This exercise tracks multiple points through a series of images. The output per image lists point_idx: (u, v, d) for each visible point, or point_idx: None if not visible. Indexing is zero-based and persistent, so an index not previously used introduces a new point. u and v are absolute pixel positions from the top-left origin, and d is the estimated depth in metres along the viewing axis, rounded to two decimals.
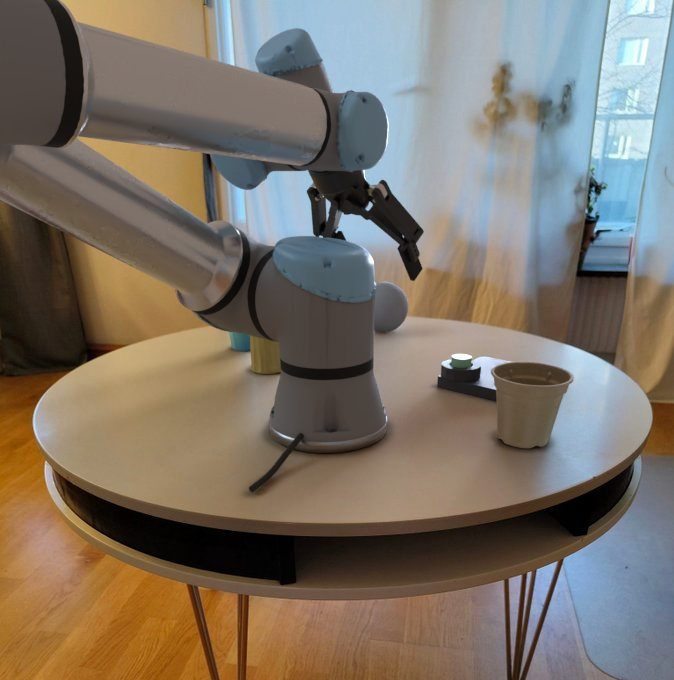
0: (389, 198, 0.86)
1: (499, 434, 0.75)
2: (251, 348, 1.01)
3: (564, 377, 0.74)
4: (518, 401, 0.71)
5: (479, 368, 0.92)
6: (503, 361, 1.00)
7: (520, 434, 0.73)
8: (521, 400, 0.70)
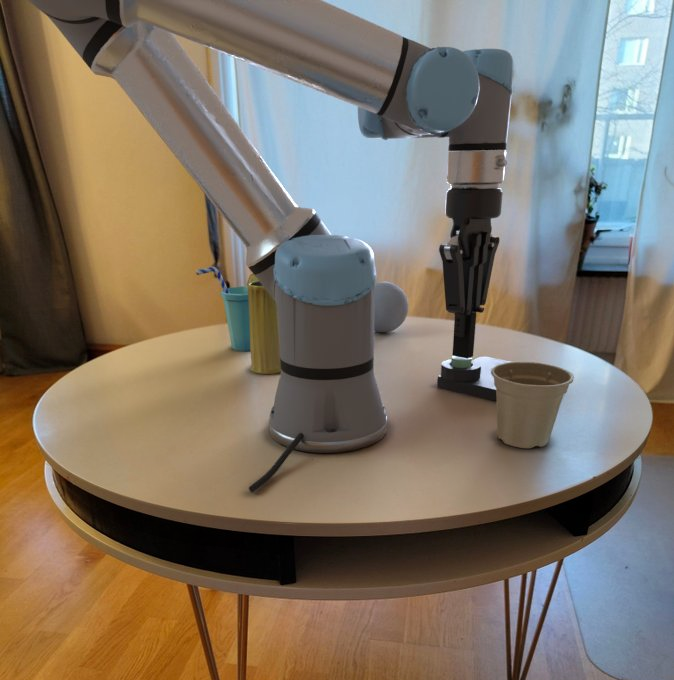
0: (452, 263, 0.83)
1: (499, 434, 0.75)
2: (251, 348, 1.01)
3: (564, 377, 0.74)
4: (518, 401, 0.71)
5: (479, 368, 0.92)
6: (503, 361, 1.00)
7: (520, 434, 0.73)
8: (521, 400, 0.70)
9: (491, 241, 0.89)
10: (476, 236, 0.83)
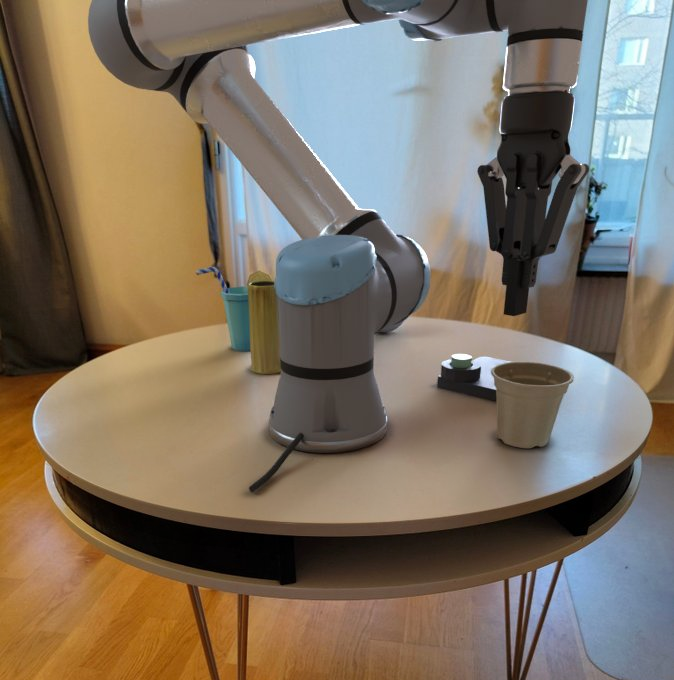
0: (572, 189, 0.66)
1: (499, 434, 0.75)
2: (251, 348, 1.01)
3: (564, 377, 0.74)
4: (518, 401, 0.71)
5: (479, 368, 0.92)
6: (503, 361, 1.00)
7: (520, 434, 0.73)
8: (521, 399, 0.70)
9: None
10: None
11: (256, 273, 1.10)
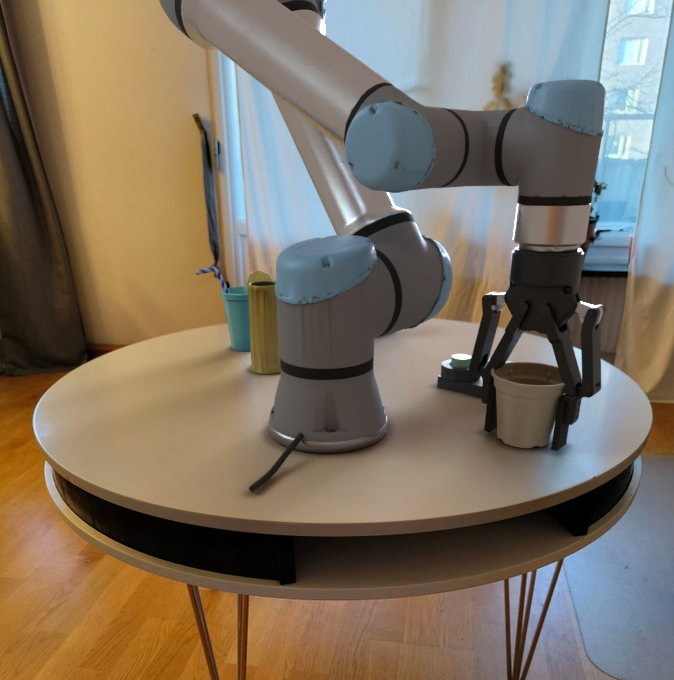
0: (597, 329, 0.66)
1: (499, 434, 0.75)
2: (251, 348, 1.01)
3: None
4: (518, 401, 0.71)
5: None
6: None
7: (520, 434, 0.73)
8: (521, 399, 0.70)
9: None
10: None
11: (256, 273, 1.10)
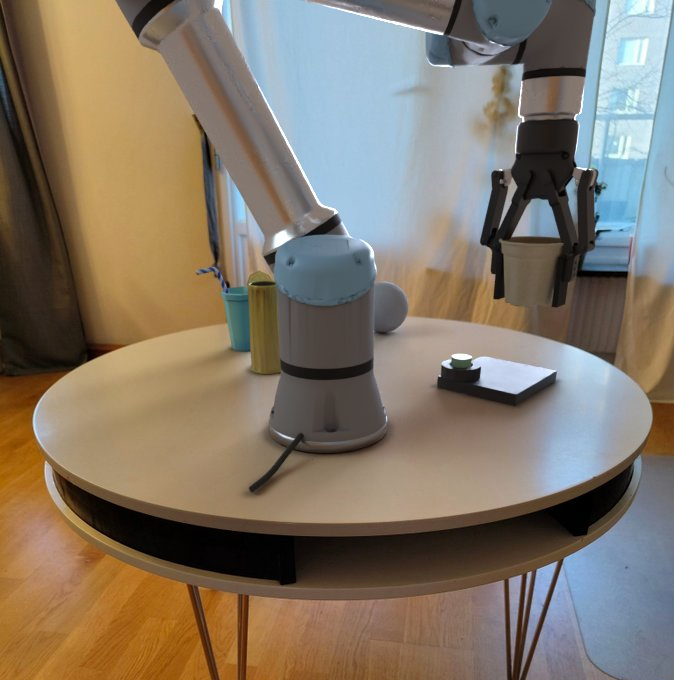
0: (591, 191, 0.77)
1: (506, 297, 0.86)
2: (251, 348, 1.01)
3: None
4: (522, 261, 0.81)
5: (479, 368, 0.92)
6: (503, 361, 1.00)
7: (525, 293, 0.83)
8: (525, 259, 0.81)
9: None
10: None
11: (256, 273, 1.10)
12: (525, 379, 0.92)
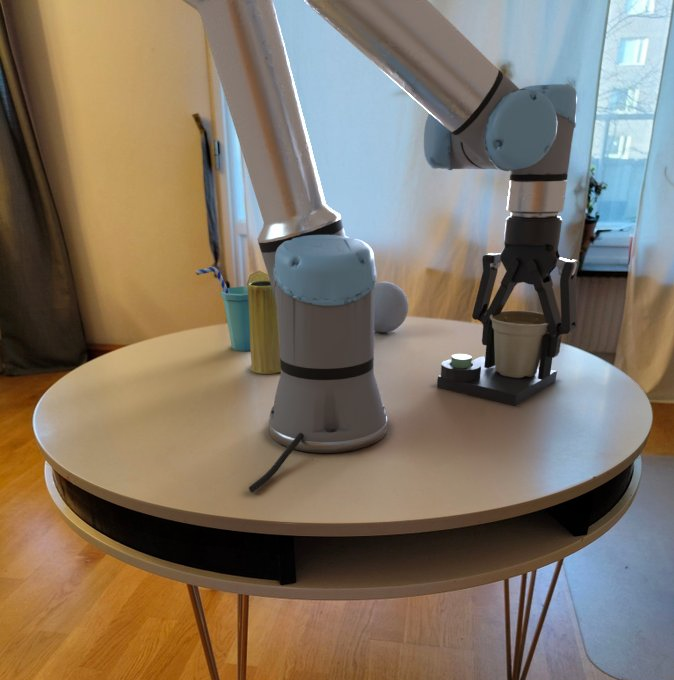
0: (572, 279, 0.85)
1: (496, 368, 0.94)
2: (251, 348, 1.01)
3: None
4: (511, 338, 0.89)
5: (479, 368, 0.92)
6: None
7: (513, 365, 0.91)
8: (513, 337, 0.89)
9: None
10: None
11: (256, 273, 1.10)
12: (525, 379, 0.92)
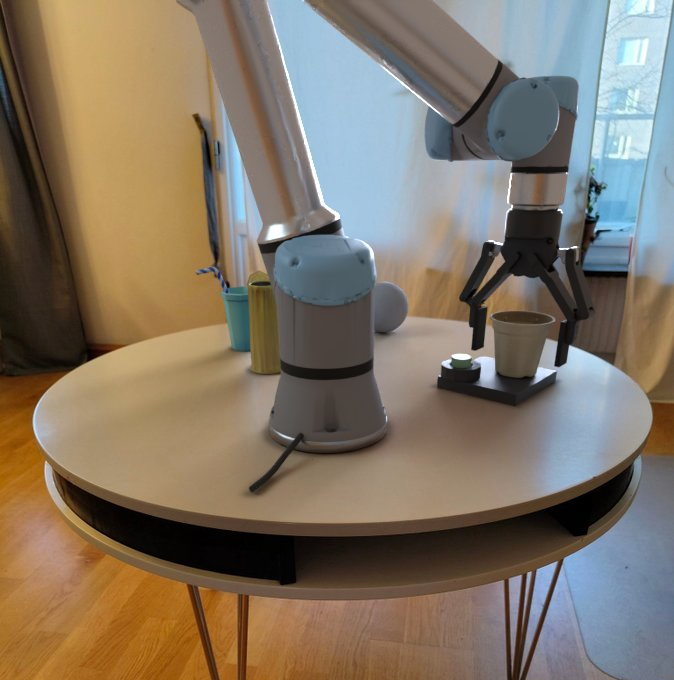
0: (578, 265, 0.84)
1: (496, 368, 0.94)
2: (251, 348, 1.01)
3: (548, 321, 0.92)
4: (511, 338, 0.89)
5: (479, 368, 0.92)
6: None
7: (513, 365, 0.91)
8: (513, 337, 0.89)
9: None
10: None
11: (256, 273, 1.10)
12: (525, 379, 0.92)
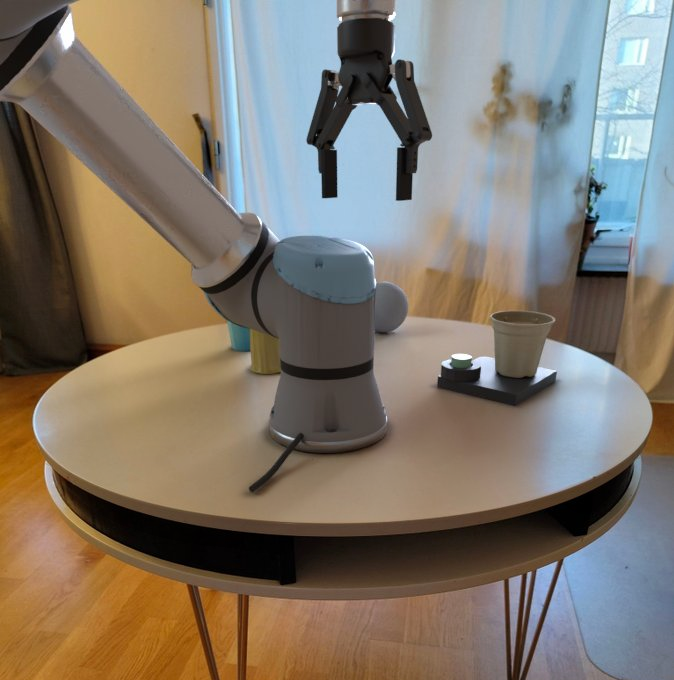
0: (410, 81, 0.78)
1: (496, 368, 0.94)
2: (251, 348, 1.01)
3: (548, 321, 0.92)
4: (511, 338, 0.89)
5: (479, 368, 0.92)
6: None
7: (513, 365, 0.91)
8: (513, 337, 0.89)
9: None
10: None
11: None
12: (525, 379, 0.92)
